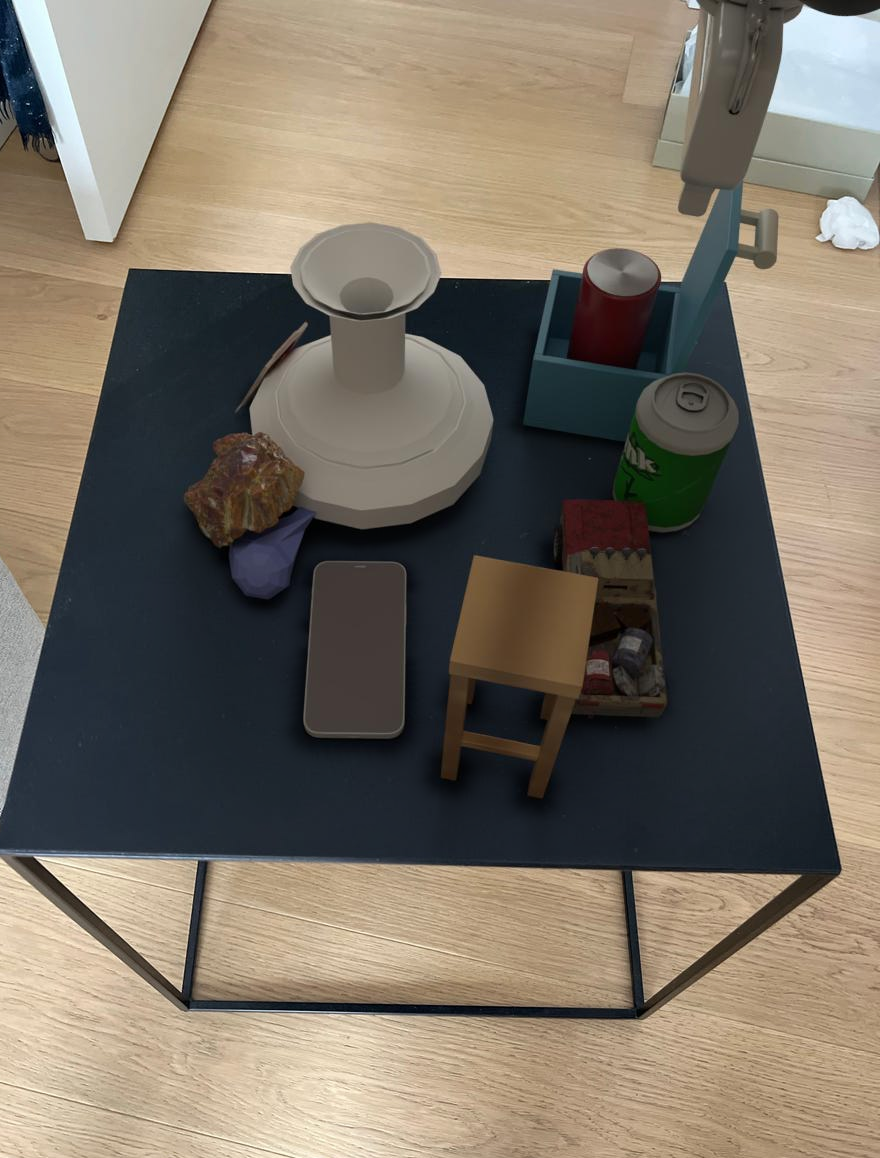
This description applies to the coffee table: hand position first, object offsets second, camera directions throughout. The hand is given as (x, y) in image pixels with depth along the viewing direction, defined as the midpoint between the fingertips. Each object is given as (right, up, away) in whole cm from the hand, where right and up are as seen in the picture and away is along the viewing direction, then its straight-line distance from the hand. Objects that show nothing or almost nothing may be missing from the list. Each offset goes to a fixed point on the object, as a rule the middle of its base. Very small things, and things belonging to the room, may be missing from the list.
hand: (695, 164), depth 66 cm
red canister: (-2, -9, +23) cm, 24 cm away
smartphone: (-23, -33, +9) cm, 41 cm away
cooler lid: (+4, -3, +10) cm, 11 cm away
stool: (-13, -39, +5) cm, 42 cm away
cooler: (-2, -9, +23) cm, 25 cm away
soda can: (+2, -21, +17) cm, 27 cm away
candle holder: (-22, -16, +19) cm, 33 cm away
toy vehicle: (-4, -31, +11) cm, 33 cm away
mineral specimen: (-34, -17, +9) cm, 39 cm away
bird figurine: (-30, -26, +7) cm, 40 cm away
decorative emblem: (-28, -5, +18) cm, 33 cm away
